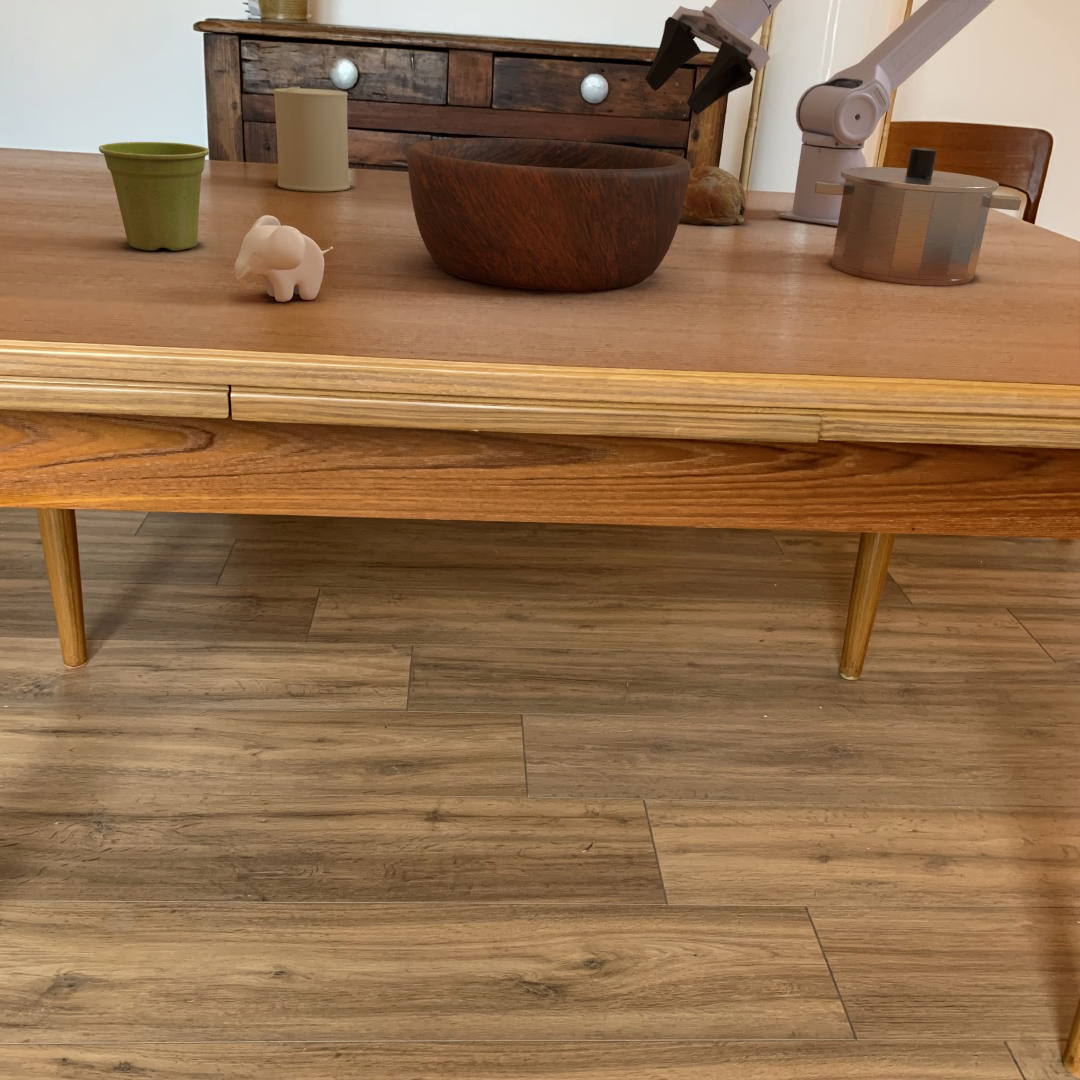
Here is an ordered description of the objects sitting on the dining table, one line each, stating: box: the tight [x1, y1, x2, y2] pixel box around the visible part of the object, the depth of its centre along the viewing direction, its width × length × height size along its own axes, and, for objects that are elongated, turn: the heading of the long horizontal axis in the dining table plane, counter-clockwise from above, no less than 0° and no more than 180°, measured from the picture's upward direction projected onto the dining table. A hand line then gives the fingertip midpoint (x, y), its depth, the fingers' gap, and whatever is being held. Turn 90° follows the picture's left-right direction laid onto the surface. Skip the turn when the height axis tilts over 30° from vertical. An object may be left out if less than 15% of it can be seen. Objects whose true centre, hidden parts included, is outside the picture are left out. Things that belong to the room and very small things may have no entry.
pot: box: [815, 179, 1022, 286], centre depth 107 cm, size 14×19×8 cm
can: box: [273, 86, 351, 193], centre depth 139 cm, size 9×9×12 cm
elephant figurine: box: [230, 214, 334, 303], centre depth 84 cm, size 7×8×6 cm
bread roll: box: [679, 165, 747, 226], centre depth 132 cm, size 10×10×8 cm
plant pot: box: [98, 141, 210, 252], centre depth 100 cm, size 9×9×9 cm
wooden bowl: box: [406, 137, 692, 291], centre depth 98 cm, size 25×25×10 cm
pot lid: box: [841, 147, 1000, 193], centre depth 105 cm, size 15×15×4 cm
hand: (670, 96), depth 126 cm, fingers open, 7 cm apart
